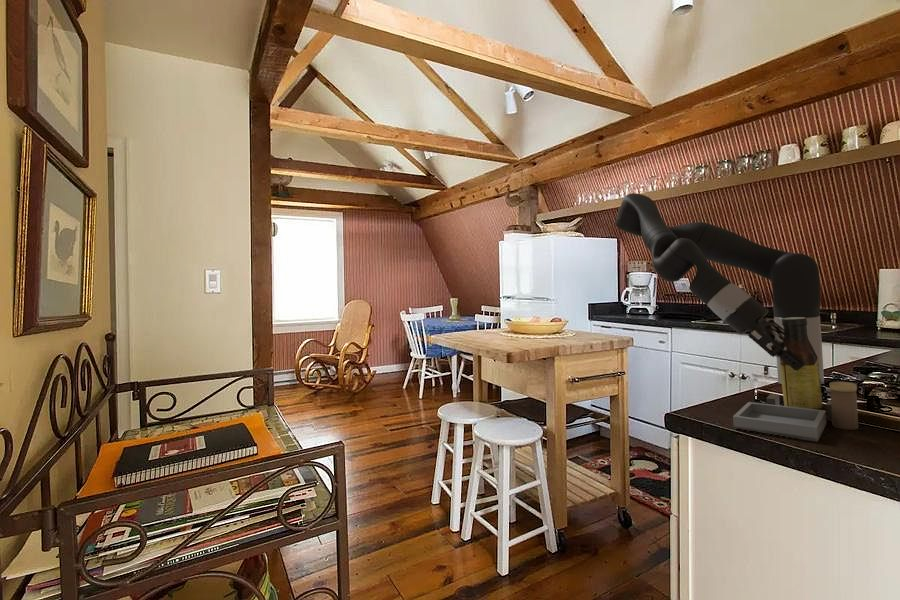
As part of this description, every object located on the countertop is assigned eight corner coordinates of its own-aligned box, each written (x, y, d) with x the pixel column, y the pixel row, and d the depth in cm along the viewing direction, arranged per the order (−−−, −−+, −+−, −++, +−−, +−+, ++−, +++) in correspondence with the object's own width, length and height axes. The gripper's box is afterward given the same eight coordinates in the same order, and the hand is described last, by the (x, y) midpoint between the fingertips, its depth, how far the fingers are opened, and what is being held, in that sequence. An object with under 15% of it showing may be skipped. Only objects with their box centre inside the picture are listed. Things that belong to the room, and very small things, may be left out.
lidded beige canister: (833, 422, 85) (830, 380, 85) (860, 425, 82) (857, 382, 82) (830, 427, 82) (828, 385, 82) (858, 431, 80) (855, 387, 79)
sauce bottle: (831, 417, 87) (825, 317, 87) (800, 420, 87) (794, 320, 87) (804, 408, 94) (798, 315, 93) (775, 410, 94) (769, 318, 93)
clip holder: (766, 406, 97) (766, 392, 97) (845, 415, 88) (844, 400, 88) (761, 412, 94) (760, 398, 94) (843, 422, 84) (842, 406, 84)
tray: (748, 413, 94) (748, 401, 93) (826, 423, 84) (825, 410, 84) (733, 429, 86) (732, 416, 85) (817, 441, 76) (816, 427, 76)
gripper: (732, 316, 105) (794, 368, 97) (714, 324, 95) (782, 382, 87) (757, 293, 101) (825, 345, 93) (741, 298, 91) (816, 358, 83)
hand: (804, 363), depth 90 cm, fingers open, 8 cm apart
